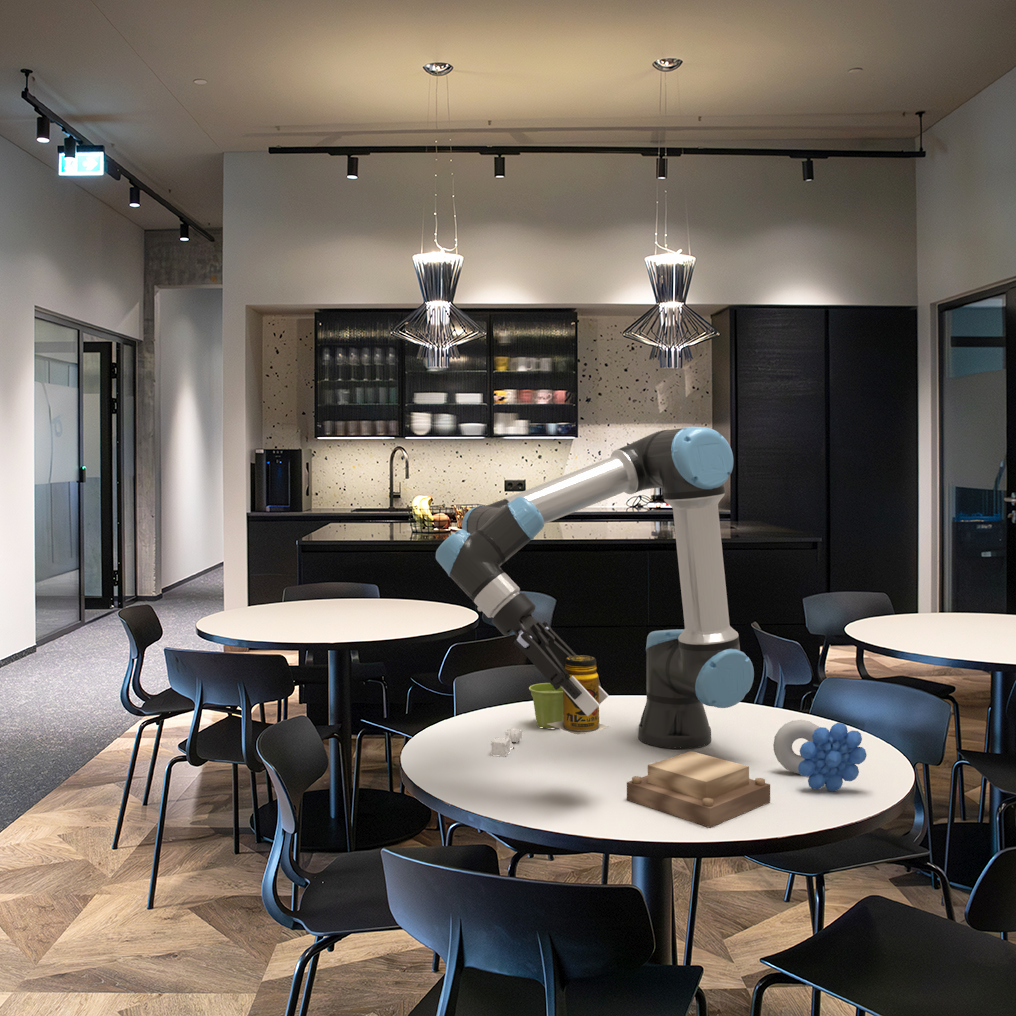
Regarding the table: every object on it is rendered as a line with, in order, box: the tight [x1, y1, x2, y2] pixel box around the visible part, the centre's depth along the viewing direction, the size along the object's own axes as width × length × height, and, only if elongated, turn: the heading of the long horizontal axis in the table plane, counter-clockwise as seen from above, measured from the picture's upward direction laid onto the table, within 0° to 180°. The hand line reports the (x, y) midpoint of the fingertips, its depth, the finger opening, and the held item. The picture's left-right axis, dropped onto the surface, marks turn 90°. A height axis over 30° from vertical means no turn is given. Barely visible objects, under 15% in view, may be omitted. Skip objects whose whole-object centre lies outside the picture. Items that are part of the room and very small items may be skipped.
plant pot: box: [528, 682, 564, 729], centre depth 203 cm, size 9×9×9 cm
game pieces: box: [490, 727, 523, 757], centre depth 186 cm, size 12×3×3 cm, turn 162°
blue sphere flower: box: [798, 722, 868, 792], centre depth 160 cm, size 12×7×12 cm, turn 87°
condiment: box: [548, 654, 610, 736], centre depth 156 cm, size 7×8×12 cm
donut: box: [772, 719, 820, 775], centre depth 169 cm, size 10×4×10 cm, turn 79°
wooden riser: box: [626, 750, 771, 828], centre depth 155 cm, size 17×17×6 cm
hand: (598, 705), depth 154 cm, fingers closed on condiment, 6 cm apart
